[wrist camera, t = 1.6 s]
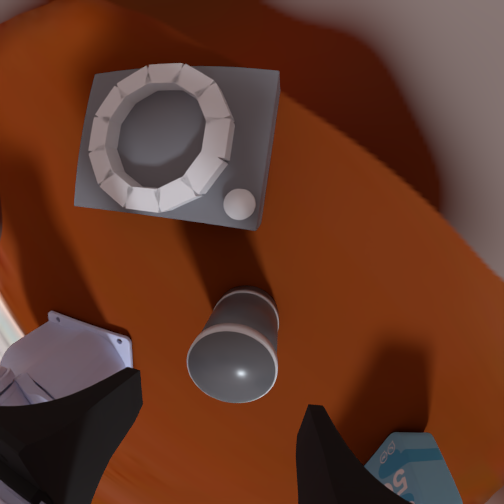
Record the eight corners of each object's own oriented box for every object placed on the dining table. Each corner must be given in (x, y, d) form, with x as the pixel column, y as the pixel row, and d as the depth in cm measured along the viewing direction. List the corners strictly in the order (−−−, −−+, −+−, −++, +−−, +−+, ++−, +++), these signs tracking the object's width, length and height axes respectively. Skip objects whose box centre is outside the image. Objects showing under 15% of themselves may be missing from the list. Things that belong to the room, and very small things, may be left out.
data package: (395, 425, 22) (429, 522, 10) (429, 426, 21) (468, 512, 10) (341, 489, 24) (349, 569, 13) (373, 489, 24) (387, 564, 12)
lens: (212, 336, 21) (185, 393, 14) (218, 278, 20) (188, 321, 13) (273, 347, 21) (268, 410, 14) (285, 290, 20) (285, 339, 13)
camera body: (102, 202, 20) (60, 207, 15) (120, 88, 18) (83, 68, 13) (260, 223, 19) (253, 234, 14) (280, 91, 17) (278, 60, 12)
